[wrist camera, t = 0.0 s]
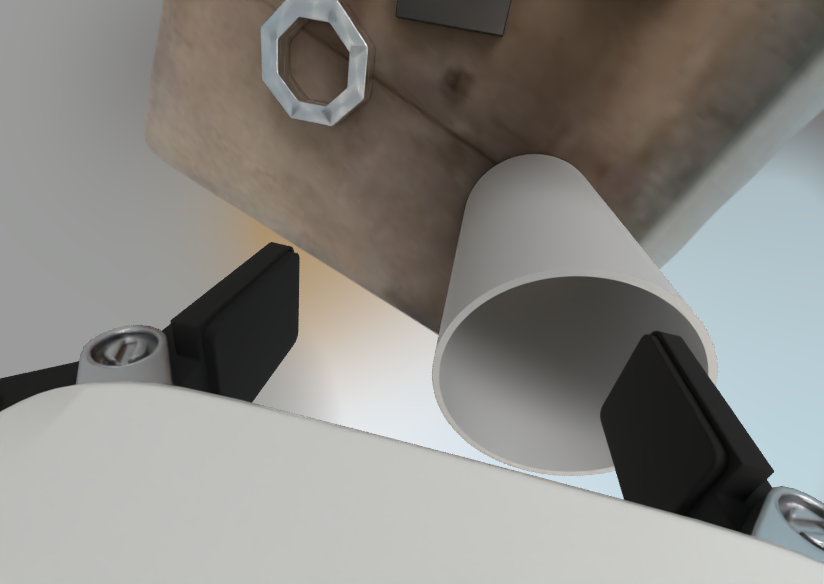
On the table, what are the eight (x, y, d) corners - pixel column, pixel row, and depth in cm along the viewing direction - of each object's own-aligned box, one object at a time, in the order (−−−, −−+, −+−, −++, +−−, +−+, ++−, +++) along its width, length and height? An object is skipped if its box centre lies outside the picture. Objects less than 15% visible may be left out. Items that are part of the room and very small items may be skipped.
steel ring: (272, -10, 35) (258, -15, 33) (379, 10, 34) (371, 6, 32) (274, 109, 40) (262, 112, 38) (367, 129, 39) (360, 132, 37)
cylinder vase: (615, 168, 37) (785, 311, 15) (565, 284, 43) (636, 500, 22) (482, 139, 38) (465, 237, 16) (452, 257, 44) (412, 439, 22)
